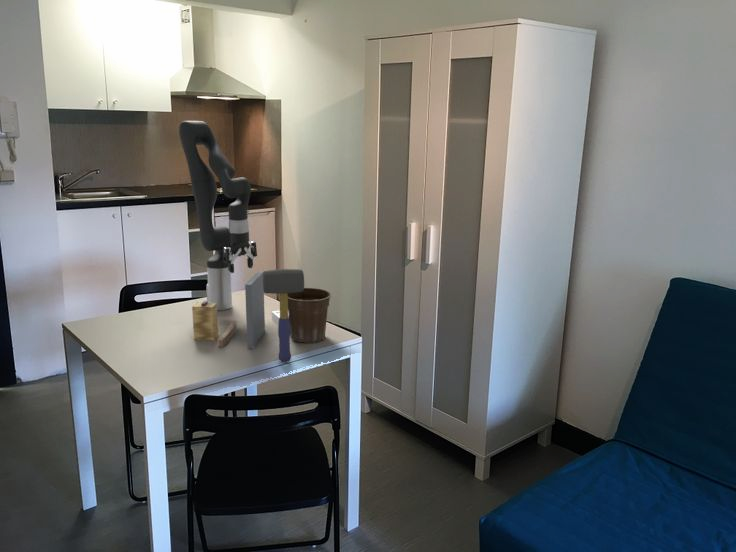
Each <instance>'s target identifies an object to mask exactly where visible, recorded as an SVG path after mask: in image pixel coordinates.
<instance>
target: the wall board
mask: <svg viewBox="0 0 736 552" xmlns="http://www.w3.org/2000/svg"><path fill="white" fill-rule="evenodd" d="M263 272H264V271H257V272H256V273H255V274H254V275H253V276H252V277H251V278H250V279H249V280H248V281H247V282H246V283H245V284H244V289H245V290H244V292H245V294H244V295H245V317H246V320H245V321H246V343H247V344H246V346H247V349H254V348H255V346H256V345H257V343H258V342H259V340H260V339H261V337H262V336H263V335H264V333H265V331H266V327H265V326H266V323H265V322H266V321H265V319H266V318H265V317H266V316H265V293H264V291H263ZM237 330H238V325H237V322H236V323H235V322H232V323H231V325H229V327H228V328H227V329H226V330H225V331H224V333H222V335H221V336H220V337H219V339H217V342H218V344H217V345H218V348H224V346H226V345H227V344H228V342H229V341H230V340H231V338H232V337H233V335H234V334H235V333H236V332H237Z"/></svg>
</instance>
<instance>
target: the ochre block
mask: <svg viewBox="0 0 736 552" xmlns="http://www.w3.org/2000/svg"><path fill="white" fill-rule="evenodd" d="M191 310H192V326H193V340H195V341H198V340H197V339H200V341H215V340H216V339H217V337H218V336H219V327H218V326H219V325H218V323H219V321H218V310H217V303H208V302H207V300H203V302H199V301H198V302H195V303H194V304H193V305H192V306H191Z"/></svg>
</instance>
